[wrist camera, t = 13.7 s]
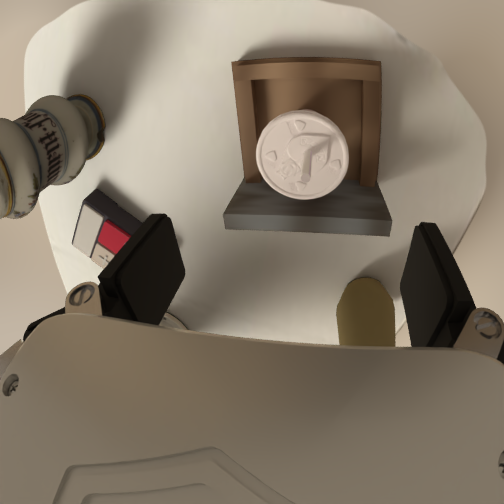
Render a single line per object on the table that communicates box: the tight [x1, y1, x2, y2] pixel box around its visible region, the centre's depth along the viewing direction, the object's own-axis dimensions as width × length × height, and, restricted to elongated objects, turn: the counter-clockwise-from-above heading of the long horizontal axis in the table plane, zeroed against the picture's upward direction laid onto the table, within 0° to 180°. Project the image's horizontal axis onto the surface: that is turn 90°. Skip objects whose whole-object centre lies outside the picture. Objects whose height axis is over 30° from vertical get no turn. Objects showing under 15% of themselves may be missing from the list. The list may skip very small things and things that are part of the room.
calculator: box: [72, 189, 143, 269], centre depth 42 cm, size 11×4×15 cm
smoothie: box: [256, 109, 349, 200], centre depth 21 cm, size 6×6×14 cm
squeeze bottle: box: [336, 278, 395, 347], centre depth 33 cm, size 8×8×18 cm
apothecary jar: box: [0, 94, 105, 219], centre depth 25 cm, size 12×12×18 cm
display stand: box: [223, 57, 392, 236], centre depth 24 cm, size 14×14×10 cm
